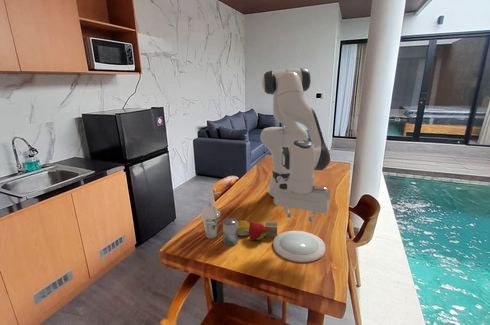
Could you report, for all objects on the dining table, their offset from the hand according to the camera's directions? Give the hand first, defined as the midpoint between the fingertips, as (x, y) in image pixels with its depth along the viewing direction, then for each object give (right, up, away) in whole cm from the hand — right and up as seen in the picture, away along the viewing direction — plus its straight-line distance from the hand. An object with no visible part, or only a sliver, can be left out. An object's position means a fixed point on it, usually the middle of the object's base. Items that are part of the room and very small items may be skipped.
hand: (299, 219), depth 100 cm
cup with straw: (-35, -10, +12) cm, 38 cm away
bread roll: (-25, -9, +17) cm, 31 cm away
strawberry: (-19, -4, +11) cm, 22 cm away
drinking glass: (-27, -11, +7) cm, 30 cm away
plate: (0, -11, +3) cm, 12 cm away
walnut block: (-10, -9, +12) cm, 18 cm away
